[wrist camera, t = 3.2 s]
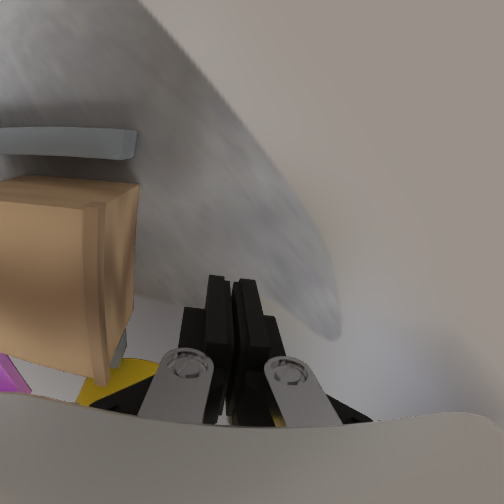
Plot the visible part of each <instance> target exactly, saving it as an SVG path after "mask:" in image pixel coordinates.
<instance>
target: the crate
mask: <svg viewBox="0 0 504 504" xmlns="http://www.w3.org/2000/svg"><path fill="white" fill-rule="evenodd" d="M139 187H140V184H131V183H122V182H112V181H101V180H90V179H78V178H65V177H52V176H37V175H22V176H19V177H15V178H11V179H8V180H4V181H1V182H0V352H1V353H4V354H7V355H10V356H13V357H16V358H19V359H22V360H25V361H28V362H32V363H35V364H38V365H42V366H45V367H49V368H53V369H57V370H60V371H64V372H68V373H72V374H76V375H80V376H85V377H89V378H93V379H94V383H95V385H99V386H103V387H107V384H108V382H109V379H110V367H109V365H110V363H111V360H112V358H113V355H114V353H115V351H116V348H117V346H118V344H119V341H120V339H121V337H122V334H123V332H124V330H125V327H126V325H127V323H128V321H129V318H130V316H131V314H132V312H133V309H134V294H133V287H134V256H135V237H136V221H137V208H138V197H139Z"/></svg>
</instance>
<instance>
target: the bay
mask: <svg viewBox="0 0 504 504" xmlns="http://www.w3.org/2000/svg"><path fill="white" fill-rule="evenodd" d="M137 132H138V131H136V130H126V129H110V128H88V127H10V128H0V154H14V155H49V156H69V157H86V158H100V159H113V160H124V159H128V158H133V157H134V154H135V147H136V139H137ZM126 347H127V341H126V328H125V330H124V332H123V334H122V337H121V339H120V341H119V344H118V346H117V348H116V351H115V353H114V355H113V358H112V360H111V363H110V365H109V367H111V368H116V369H118V368H119V365H120V363H121V360H122V357H123V355H124V352H125V350H126Z"/></svg>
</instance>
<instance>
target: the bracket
mask: <svg viewBox="0 0 504 504" xmlns="http://www.w3.org/2000/svg"><path fill="white" fill-rule="evenodd" d="M31 391H32V390H31V388H30V387H29V385H28V384H27V383H26V381H25V380H24V378H23V377H22V376H21V374H20V373H19V371H18V370H17V368H16V367H15V365H14V364H13V362H12V361H11V359H10V358H9V356H8V355H7V354H4V353H1V352H0V392H18V393H27V394H30V393H31Z"/></svg>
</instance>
